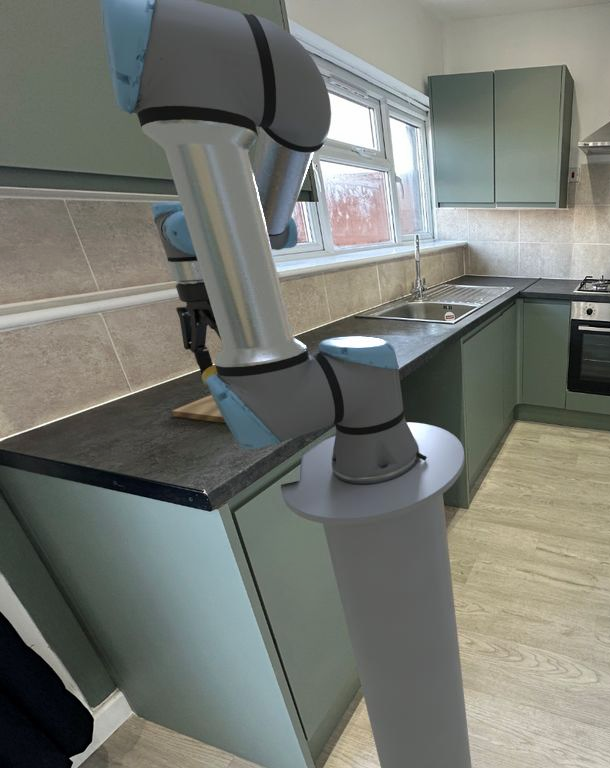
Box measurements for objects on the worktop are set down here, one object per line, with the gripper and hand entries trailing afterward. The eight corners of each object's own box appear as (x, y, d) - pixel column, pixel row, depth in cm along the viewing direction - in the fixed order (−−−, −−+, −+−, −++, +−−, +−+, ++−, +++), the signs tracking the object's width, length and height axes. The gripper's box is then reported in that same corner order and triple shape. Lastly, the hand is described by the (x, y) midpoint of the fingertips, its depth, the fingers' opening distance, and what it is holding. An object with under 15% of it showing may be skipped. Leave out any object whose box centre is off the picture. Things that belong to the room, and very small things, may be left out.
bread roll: (225, 373, 101) (220, 358, 100) (255, 376, 99) (251, 360, 98) (193, 386, 94) (188, 369, 93) (225, 389, 92) (220, 372, 90)
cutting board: (290, 400, 103) (289, 394, 102) (242, 425, 90) (240, 419, 90) (227, 393, 108) (226, 388, 108) (174, 416, 96) (171, 410, 95)
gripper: (251, 279, 89) (275, 377, 97) (176, 278, 95) (205, 371, 103) (219, 284, 82) (248, 389, 91) (141, 283, 88) (175, 381, 96)
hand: (225, 379), depth 97 cm, fingers closed on bread roll, 9 cm apart
